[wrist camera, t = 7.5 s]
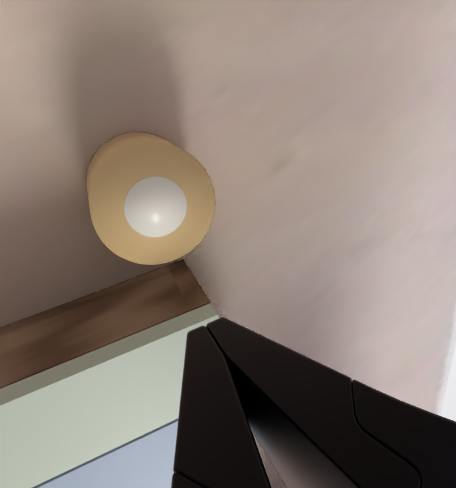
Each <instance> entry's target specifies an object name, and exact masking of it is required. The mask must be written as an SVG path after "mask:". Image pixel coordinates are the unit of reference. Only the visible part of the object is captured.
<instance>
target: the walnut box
mask: <svg viewBox="0 0 456 488" xmlns="http://www.w3.org/2000/svg"><path fill="white" fill-rule="evenodd" d="M209 303H211V302H210V300H209V299H208V297H207V296H206V294H205V292H204V291H203V289H202V288H201V286H200V285H199V283H198V282H197V280H196V278H195V277H194V275H193V274H192V272H191V271H190V269H189V268H188V266H187V264H186V263H185V261H184V260H181V261H179V262H176V263H173V264H171V265H168V266H165V267H163V268H160V269H157V270H155V271H152V272H149V273H146V274H144V275H141V276H138V277H136V278H133V279H130V280H128V281H125V282H122V283H120V284H117V285H114V286H112V287H109V288H106V289H104V290H101V291H98V292H95V293H93V294H90V295H87V296H85V297H82V298H79V299H77V300H74V301H71V302H69V303H66V304H63V305H61V306H58V307H55V308H53V309H50V310H47V311H45V312H42V313H39V314H36V315H34V316H31V317H28V318H26V319H23V320H20V321H18V322H15V323H12V324H10V325H7V326H4V327H2V328H0V389H1V388H4V387H6V386H9V385H11V384H13V383H16V382H18V381H21V380H23V379H26V378H28V377H31V376H33V375H36V374H38V373H40V372H43V371H45V370H48V369H50V368H53V367H55V366H58V365H60V364H62V363H65V362H67V361H70V360H72V359H75V358H77V357H80V356H82V355H85V354H87V353H89V352H92V351H94V350H97V349H99V348H102V347H104V346H107V345H109V344H111V343H114V342H116V341H119V340H121V339H124V338H126V337H129V336H131V335H134V334H136V333H138V332H141V331H143V330H146V329H148V328H151V327H153V326H156V325H158V324H160V323H163V322H165V321H168V320H170V319H173V318H175V317H178V316H180V315H182V314H185V313H187V312H190V311H192V310H195V309H197V308H200V307H202V306H205V305H207V304H209Z"/></svg>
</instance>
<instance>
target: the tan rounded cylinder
mask: <svg viewBox="0 0 456 488" xmlns="http://www.w3.org/2000/svg"><path fill="white" fill-rule="evenodd" d="M86 187H87V194H88V201H89V208H90V214H91V220H92V223H93V226H94V229H95V231H96V233H97V235H98V236H99V238H100V239H101V241H102V242H103V243H104V244H105V245H106V247H107V248H108V249H110V250H111V251H112V252H113V253H115V254H116V255H118V256H119V257H121V258H123V259H126V260H128V261H131V262H134V263H139V264H147V265H155V264H163V263H167V262H171V261H174V260H176V259H178V258H180V257H182V256H184V255H186V254H187V253H189V252H190V251H191V250H193V249H194V248H195V247H196V246H197V245H198V244H199V243H200V242H201V240H202V239H203V238H204V236H205V235H206V233H207V232H208V230H209V228H210V226H211V223H212V220H213V216H214V212H215V193H214V188H213V184H212V181H211V179H210V177H209V175H208V173H207V172H206V170H205V168H204V167H203V166H202V165H201V163H200V162H199V161H198V160H197V159H195V158H194V157H193V156H192V155H190V154H189V153H187V152H186V151H184V150H182V149H180V148H179V147H177V146H175V145H173V144H172V143H170V142H168V141H166V140H164V139H163V138H161V137H159V136H156V135H153V134H150V133H145V132H130V133H125V134H121V135H118V136H116V137H114V138H112V139H110V140H109V141H107V142H106V143H104V144H103V145H102V146H101V147H100V148H99V149H98V151H97V152H96V153H95V154H94V156H93V158H92V159H91V162H90V164H89V167H88V171H87V177H86Z"/></svg>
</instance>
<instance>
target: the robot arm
mask: <svg viewBox="0 0 456 488" xmlns="http://www.w3.org/2000/svg"><path fill="white" fill-rule="evenodd" d="M253 434H254V436H255V437H256V439H257V441H258V442H259V444H260V445H261V447H262V449H263V450H264V452H265V453H266V455H267V457H268V458H269V460H270V461H271V463H272V465H273V466H274V468H275V469H276V471H277V472H278V474H279V476H280V477H281V479H282V480H283V482H284V484H285V485H286V487H287V488H456V422H455V421H453V420H450V419H447V418H444V417H442V416H439V415H436V414H434V413H431V412H428V411H426V410H423V409H421V408H418V407H416V406H413V405H410V404H408V403H405V402H403V401H400V400H398V399H396V398H394V397H391V396H389V395H387V394H385V393H382V392H380V391H378V390H376V389H373V388H371V387H369V386H367V385H365V384H363V383H361V382H359V381H357V380H353V381H352V379H351V378H350V377H348V376H346V375H344V374H342V373H339V372H337V371H335V370H333V369H331V368H329V367H327V366H325V365H323V364H321V363H319V362H316V361H314V360H312V359H310V358H308V357H306V356H304V355H302V354H300V353H298V352H295V351H293V350H291V349H289V348H287V347H285V346H283V345H281V344H279V343H277V342H275V341H272V340H270V339H268V338H266V337H264V336H262V335H260V334H258V333H256V332H254V331H252V330H249V329H247V328H245V327H243V326H241V325H239V324H237V323H235V322H233V321H231V320H228V319H226V318H224V317H221V318H218V319H216V320H214V321H211V322H209V323H207V325H206V326H200V327H198V328H195V329H193V330H191V331H189V332H188V333H187V339H186V349H185V358H184V368H183V378H182V388H181V397H180V407H179V417H178V427H177V436H176V446H175V456H174V465H173V472H174V473H173V475H172V483H171V488H271V485H270V482H269V479H268V476H267V474H266V471H265V468H264V465H263V462H262V459H261V456H260V453H259V451H258V448H257V445H256V442H255V439H254V436H253Z"/></svg>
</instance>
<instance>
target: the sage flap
mask: <svg viewBox="0 0 456 488" xmlns="http://www.w3.org/2000/svg"><path fill="white" fill-rule="evenodd" d="M218 318H219V315H218V313H217V311H216V310H215V308H214V307H213V305H212V303H209V304H207V305H205V306H202V307H200V308H197V309H195V310H192V311H190V312H187V313H185V314H182V315H180V316H178V317H175V318H173V319H170V320H168V321H165V322H163V323H160V324H158V325H156V326H153V327H151V328H148V329H146V330H143V331H141V332H138V333H136V334H134V335H131V336H129V337H126V338H124V339H121V340H119V341H116V342H114V343H111V344H109V345H107V346H104V347H102V348H99V349H97V350H94V351H92V352H89V353H87V354H85V355H82V356H80V357H77V358H75V359H72V360H70V361H67V362H65V363H62V364H60V365H58V366H55V367H53V368H50V369H48V370H45V371H43V372H40V373H38V374H36V375H33V376H31V377H28V378H26V379H23V380H21V381H18V382H16V383H13V384H11V385H9V386H6V387H4V388H1V389H0V488H32V487H34V486H37V485H39V484H41V483H43V482H45V481H47V480H49V479H51V478H53V477H55V476H58V475H60V474H62V473H64V472H66V471H68V470H70V469H72V468H74V467H77V466H79V465H81V464H83V463H85V462H87V461H89V460H91V459H93V458H95V457H98V456H100V455H102V454H104V453H106V452H108V451H110V450H112V449H114V448H117V447H119V446H121V445H123V444H125V443H127V442H129V441H131V440H133V439H136V438H138V437H140V436H142V435H144V434H146V433H148V432H150V431H152V430H154V429H157V428H159V427H161V426H163V425H165V424H167V423H169V422H171V421H173V420H176V419H178V417H179V407H180V397H181V388H182V378H183V368H184V358H185V349H186V339H187V333H188V332H189V331H191V330H193V329H195V328H198V327H200V326H206V325H207V323H209V322H211V321H214V320H216V319H218Z"/></svg>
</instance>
